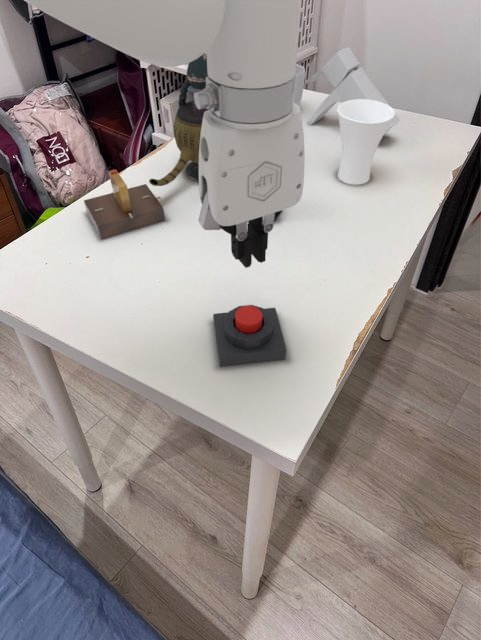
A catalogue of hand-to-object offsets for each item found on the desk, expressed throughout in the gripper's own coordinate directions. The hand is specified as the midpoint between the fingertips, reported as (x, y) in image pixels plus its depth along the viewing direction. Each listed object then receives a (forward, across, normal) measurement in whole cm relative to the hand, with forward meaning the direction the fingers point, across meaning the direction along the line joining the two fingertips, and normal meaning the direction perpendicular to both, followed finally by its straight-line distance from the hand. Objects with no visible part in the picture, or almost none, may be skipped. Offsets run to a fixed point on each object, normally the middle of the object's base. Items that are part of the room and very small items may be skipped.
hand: (249, 257), depth 54 cm
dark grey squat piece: (+15, 0, 0) cm, 15 cm away
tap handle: (+12, -6, +37) cm, 40 cm away
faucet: (+15, +52, +46) cm, 71 cm away
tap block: (+15, -6, +37) cm, 41 cm away
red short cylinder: (+12, 0, 0) cm, 12 cm away
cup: (+15, +40, +29) cm, 52 cm away
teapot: (+15, +12, +44) cm, 48 cm away
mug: (+15, +43, +62) cm, 77 cm away
